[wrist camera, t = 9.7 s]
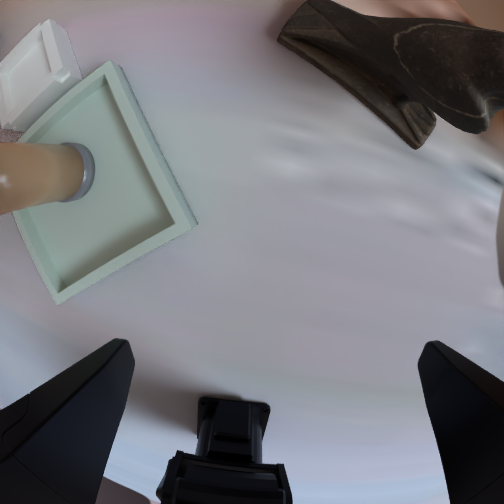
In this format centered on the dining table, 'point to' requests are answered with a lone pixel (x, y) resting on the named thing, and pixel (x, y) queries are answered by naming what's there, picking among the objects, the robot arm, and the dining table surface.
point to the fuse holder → (36, 76)
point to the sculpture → (405, 66)
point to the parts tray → (102, 188)
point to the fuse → (43, 174)
